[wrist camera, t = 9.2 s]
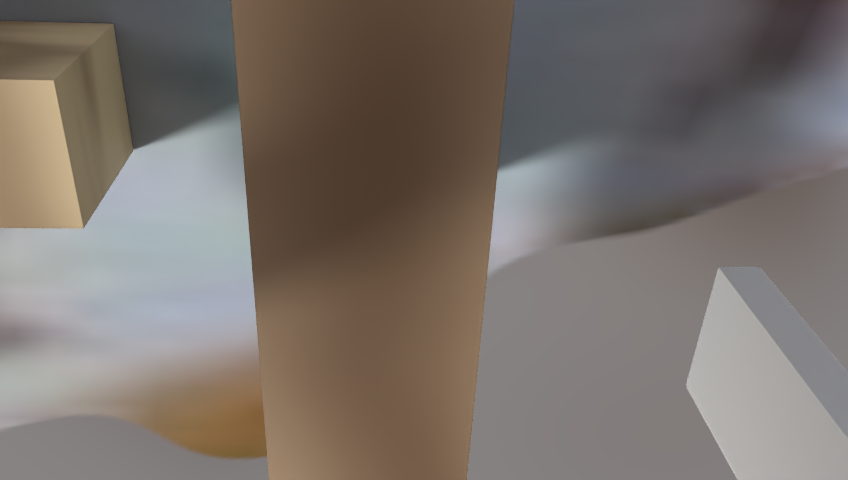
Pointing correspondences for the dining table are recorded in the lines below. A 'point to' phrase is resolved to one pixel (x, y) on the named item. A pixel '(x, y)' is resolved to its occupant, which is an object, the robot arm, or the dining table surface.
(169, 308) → the dining table surface
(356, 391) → the rod
